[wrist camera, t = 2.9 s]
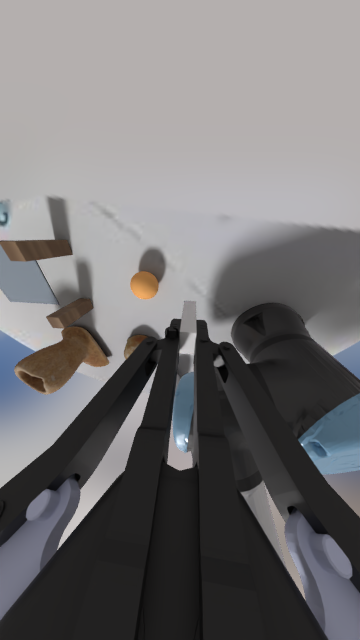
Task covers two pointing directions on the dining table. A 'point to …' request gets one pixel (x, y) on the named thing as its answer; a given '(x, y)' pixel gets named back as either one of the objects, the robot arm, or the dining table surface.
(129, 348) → the bread roll
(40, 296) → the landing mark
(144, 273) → the ball
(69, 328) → the brown boot
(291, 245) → the dining table surface
